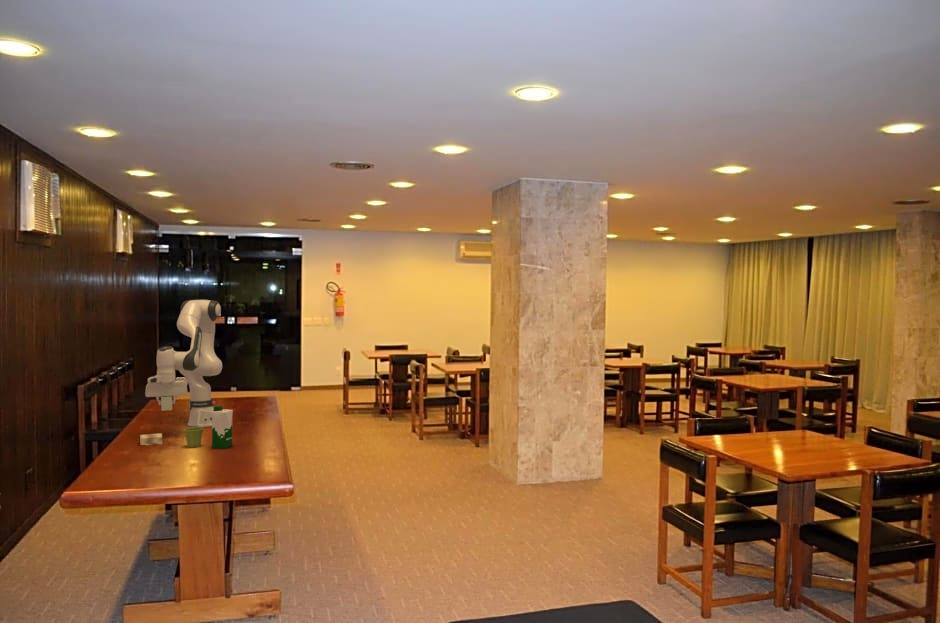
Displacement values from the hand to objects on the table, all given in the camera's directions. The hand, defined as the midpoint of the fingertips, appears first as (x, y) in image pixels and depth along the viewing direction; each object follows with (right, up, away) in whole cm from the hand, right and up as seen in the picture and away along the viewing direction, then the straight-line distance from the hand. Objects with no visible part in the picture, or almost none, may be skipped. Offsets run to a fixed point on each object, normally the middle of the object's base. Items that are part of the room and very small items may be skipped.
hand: (166, 404), depth 369 cm
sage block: (0, -3, 0) cm, 3 cm away
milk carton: (+36, -18, -21) cm, 46 cm away
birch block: (-3, -18, -12) cm, 22 cm away
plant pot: (+22, -18, -19) cm, 34 cm away
